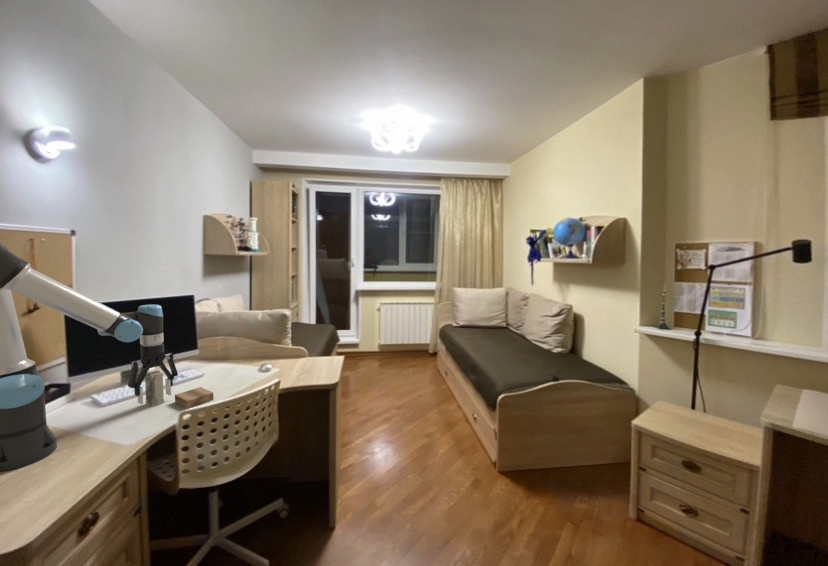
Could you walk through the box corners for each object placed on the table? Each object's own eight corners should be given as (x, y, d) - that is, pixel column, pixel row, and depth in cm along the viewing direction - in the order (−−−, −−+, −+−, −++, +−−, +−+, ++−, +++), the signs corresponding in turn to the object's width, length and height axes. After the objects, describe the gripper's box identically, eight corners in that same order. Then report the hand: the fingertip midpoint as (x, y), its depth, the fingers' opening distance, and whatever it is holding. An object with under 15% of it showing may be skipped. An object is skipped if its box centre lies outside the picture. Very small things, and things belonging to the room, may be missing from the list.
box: (145, 403, 140) (143, 372, 139) (157, 399, 144) (156, 369, 143) (152, 407, 138) (151, 375, 136) (164, 402, 141) (163, 372, 140)
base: (187, 408, 137) (187, 401, 137) (175, 402, 142) (174, 394, 142) (213, 399, 146) (213, 392, 145) (200, 393, 151) (200, 386, 150)
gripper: (122, 352, 127) (125, 411, 129) (186, 339, 145) (188, 391, 148) (113, 348, 131) (117, 406, 133) (177, 336, 149) (179, 387, 152)
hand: (154, 398), depth 141 cm, fingers open, 9 cm apart
